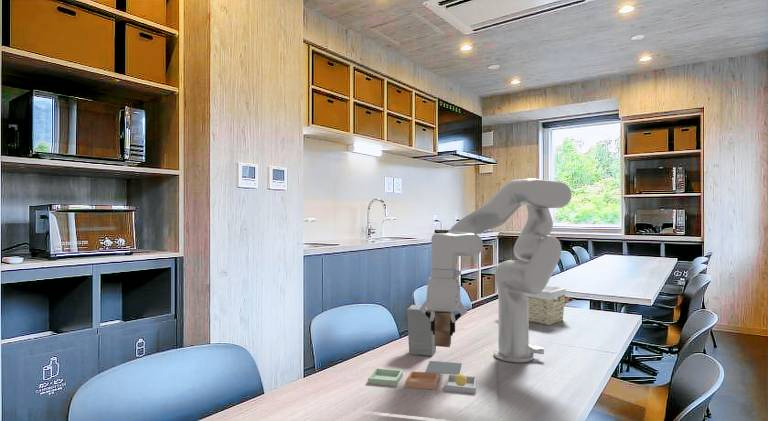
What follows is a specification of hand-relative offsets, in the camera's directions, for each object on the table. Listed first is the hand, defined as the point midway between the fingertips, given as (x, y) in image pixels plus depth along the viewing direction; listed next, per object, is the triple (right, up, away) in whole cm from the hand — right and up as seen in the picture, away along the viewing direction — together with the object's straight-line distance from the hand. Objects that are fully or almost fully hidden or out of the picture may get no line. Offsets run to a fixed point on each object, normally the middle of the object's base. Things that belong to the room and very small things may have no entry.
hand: (442, 333), depth 135 cm
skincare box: (-5, -11, +16) cm, 20 cm away
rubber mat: (0, -11, 0) cm, 11 cm away
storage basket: (+48, -11, +63) cm, 80 cm away
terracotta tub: (-7, -11, -11) cm, 17 cm away
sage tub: (-17, -11, -9) cm, 22 cm away
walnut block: (0, -3, 0) cm, 3 cm away
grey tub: (+3, -11, -14) cm, 18 cm away
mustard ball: (+3, -9, -14) cm, 17 cm away
